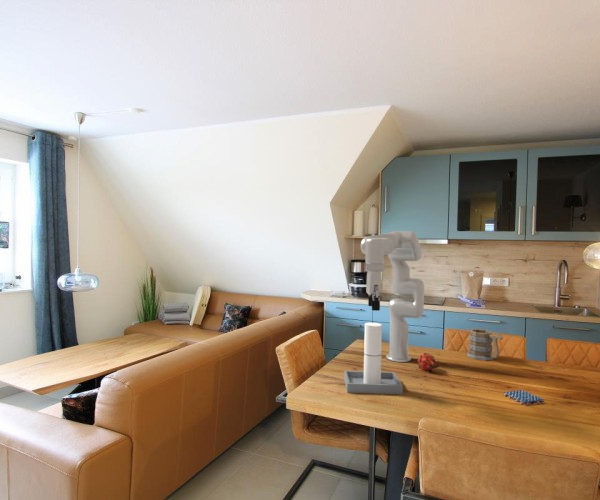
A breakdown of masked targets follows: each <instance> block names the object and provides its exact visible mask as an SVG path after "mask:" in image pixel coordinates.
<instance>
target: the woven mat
mask: <svg viewBox="0 0 600 500" xmlns="http://www.w3.org/2000/svg"><path fill="white" fill-rule="evenodd" d="M503 397H507V398H508V399H511V400H512V401H513V402H516V403H519V404H521V405H523V406H531V405H532V406H533V405H537V404H538V405H540V404H545V401H544V398H541V397H539V396H537V395H535V394H532V393H530V392H528V391H526V390H522V389H520V390H518V389H517V390H513V391H512V390H510V391H509V390H508V391H503Z"/></svg>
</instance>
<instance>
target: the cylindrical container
mask: <svg viewBox="0 0 600 500" xmlns="http://www.w3.org/2000/svg"><path fill="white" fill-rule="evenodd" d="M382 334H383V324H382V323H378V322H366V323H364V337H363V338H364V342H363V343H364V348H363V349H364V350H363V371H364V383H366V384H381V372H382V344H383V343H382V341H383V340H382V339H383V337H382V336H383V335H382Z"/></svg>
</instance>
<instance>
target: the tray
mask: <svg viewBox="0 0 600 500" xmlns="http://www.w3.org/2000/svg"><path fill="white" fill-rule="evenodd" d="M343 380H344V385H345V388H346V393H350V394H351V393H352V394H353V393H354V394H355V393H356V394H357V393H358V394H382V395H383V394H384V395H386V394H387V395H389V394H390V395H403V391H404V390H403V388H404V387H403V386H404V385H403V383H402V382H401V381H400V379H399V378H398V375H396V373H395V372H394V371H381V384H366V383H364V370H343Z"/></svg>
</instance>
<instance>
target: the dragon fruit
mask: <svg viewBox="0 0 600 500" xmlns="http://www.w3.org/2000/svg"><path fill="white" fill-rule="evenodd" d="M417 362H418V368H419V369H422V370H423V371H424V372H425V373H429V371H434V370H435V369H436V368H437V369H438V368H439V365H440V364H438V363H437V361H436V359H435V356H434V355H431V354H430V353H428V352H423V353H422V354H420V355H419V357H418V358H417Z"/></svg>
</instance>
